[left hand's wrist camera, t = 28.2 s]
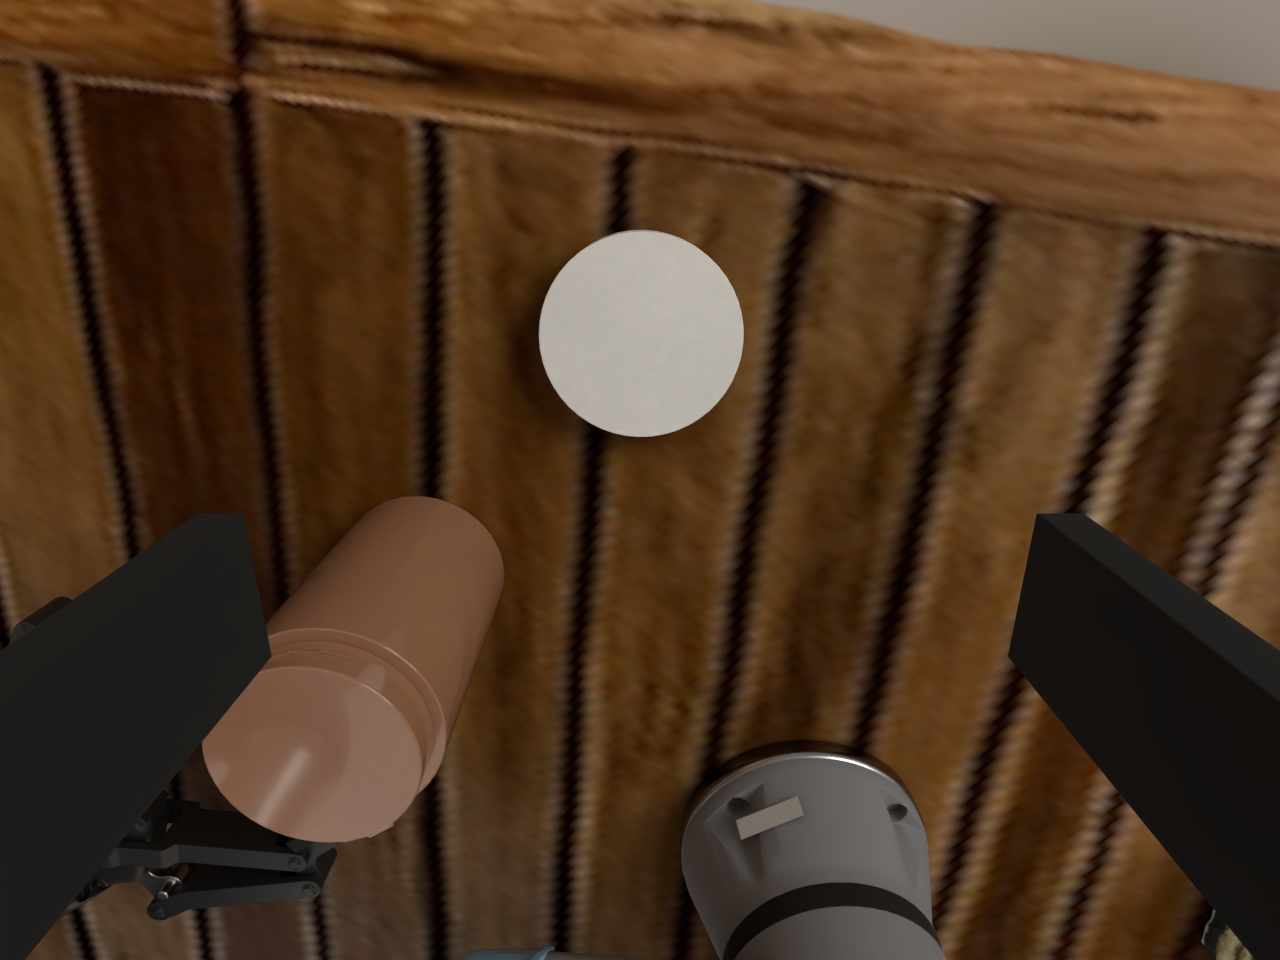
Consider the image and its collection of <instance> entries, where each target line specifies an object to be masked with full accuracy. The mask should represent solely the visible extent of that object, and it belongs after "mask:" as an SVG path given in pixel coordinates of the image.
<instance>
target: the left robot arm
mask: <svg viewBox="0 0 1280 960" xmlns="http://www.w3.org/2000/svg"><path fill="white" fill-rule="evenodd" d="M271 657H272V654H271V649H270V644H269V639H268V634H267V629H266V624H265V619H264V614H263V609H262V604H261V600H260V595H259V590H258V585H257V580H256V575H255V570H254V565H253V560H252V555H251V550H250V545H249V540H248V535H247V530H246V525H245V520H244V515H243V514H196V515H194V516H193V517H191V518H190V519H189V520H187V521H186V522H184V523H183V524H181V525H180V526H179V527H177V528H176V529H174V530H173V531H171V532H170V533H168V534H167V535H166V536H164V537H163V538H161V539H160V540H158V541H157V542H156V543H154V544H153V545H151V546H150V547H148V548H147V549H146V550H144V551H143V552H141V553H140V554H138V555H137V556H136V557H134V558H133V559H131V560H130V561H128V562H127V563H126V564H124V565H123V566H121V567H120V568H118V569H117V570H116V571H114V572H113V573H111V574H110V575H108V576H107V577H105V578H104V579H103V580H101V581H100V582H98V583H97V584H95V585H94V586H93V587H91V588H90V589H88V590H87V591H85V592H84V593H83V594H81V595H80V596H78V597H77V598H75V599H74V600H73V601H71V602H70V603H68V604H67V605H65V606H64V607H63V608H61V609H60V610H58V611H57V612H55V613H54V614H53V615H51V616H50V617H48V618H47V619H45V620H44V621H43V622H41V623H40V624H38V625H37V626H35V627H34V628H32V629H31V630H30V631H28V632H27V633H25V634H24V635H22V636H21V637H20V638H18V639H17V640H15V641H14V642H12V643H11V644H10V645H8V646H7V647H5V648H4V649H2V650H1V651H0V960H25V959H26V958H27V956H28V955H29V954H30V953H31V951H32V950H33V949H34V948H35V947H36V945H37V944H38V943H39V942H40V940H41V939H42V938H43V937H44V936H45V934H46V933H47V932H48V931H49V929H50V928H51V927H52V926H53V924H54V923H55V922H56V921H57V920H58V918H59V917H60V916H61V915H62V913H63V912H64V911H65V910H66V908H67V907H68V906H69V905H70V904H71V902H72V901H73V900H74V899H75V897H76V896H77V895H78V894H79V893H80V891H81V890H82V889H83V888H84V886H85V885H86V884H87V883H88V881H89V880H90V879H91V878H92V877H93V875H94V874H95V873H96V872H97V870H98V869H99V868H100V867H101V866H102V864H103V863H104V862H105V861H106V859H107V858H108V857H109V856H110V854H111V853H112V852H113V851H114V850H115V848H116V847H117V846H118V845H119V843H120V842H121V841H122V840H123V838H124V837H125V836H126V835H127V834H128V832H129V831H130V830H131V829H132V827H133V826H134V825H135V824H136V823H137V821H138V820H139V819H140V818H141V816H142V815H143V814H144V813H145V811H146V810H147V809H148V808H149V807H150V805H151V804H152V803H153V802H154V800H155V799H156V798H157V797H158V795H159V794H160V793H161V792H162V791H163V789H164V788H165V787H166V786H167V784H168V783H169V782H170V781H171V780H172V778H173V777H174V776H175V775H176V773H177V772H178V771H179V770H180V768H181V767H182V766H183V765H184V764H185V762H186V761H187V760H188V759H189V757H190V756H191V755H192V754H193V753H194V751H195V750H196V749H197V748H198V746H199V745H200V744H201V743H202V741H203V740H204V739H205V738H206V737H207V735H208V734H209V733H210V732H211V730H212V729H213V728H214V727H215V725H216V724H217V723H218V722H219V721H220V719H221V718H222V717H223V716H224V714H225V713H226V712H227V711H228V710H229V708H230V707H231V706H232V705H233V703H234V702H235V701H236V700H237V698H238V697H239V696H240V695H241V694H242V692H243V691H244V690H245V689H246V687H247V686H248V685H249V684H250V683H251V681H252V680H253V679H254V678H255V676H256V675H257V674H258V673H259V671H260V670H261V669H262V668H263V667H264V665H265V664H266V663H267V662H268V660H269V659H270V658H271ZM1008 657H1009V658H1010V659H1011V660H1012V662H1013V663H1014V664H1015V665H1016V667H1017V668H1018V669H1019V670H1020V671H1021V673H1022V674H1023V675H1024V676H1025V678H1026V679H1027V680H1028V681H1029V683H1030V684H1031V685H1032V686H1033V687H1034V689H1035V690H1036V691H1037V692H1038V694H1039V695H1040V696H1041V697H1042V698H1043V700H1044V701H1045V702H1046V703H1047V705H1048V706H1049V707H1050V708H1051V710H1052V711H1053V712H1054V713H1055V714H1056V716H1057V717H1058V718H1059V719H1060V721H1061V722H1062V723H1063V724H1064V725H1065V727H1066V728H1067V729H1068V730H1069V732H1070V733H1071V734H1072V735H1073V737H1074V738H1075V739H1076V740H1077V741H1078V743H1079V744H1080V745H1081V746H1082V748H1083V749H1084V750H1085V751H1086V753H1087V754H1088V755H1089V756H1090V757H1091V759H1092V760H1093V761H1094V762H1095V764H1096V765H1097V766H1098V767H1099V768H1100V770H1101V771H1102V772H1103V773H1104V775H1105V776H1106V777H1107V778H1108V780H1109V781H1110V782H1111V783H1112V784H1113V786H1114V787H1115V788H1116V789H1117V791H1118V792H1119V793H1120V794H1121V795H1122V797H1123V798H1124V799H1125V800H1126V802H1127V803H1128V804H1129V805H1130V807H1131V808H1132V809H1133V810H1134V811H1135V813H1136V814H1137V815H1138V816H1139V818H1140V819H1141V820H1142V821H1143V823H1144V824H1145V825H1146V826H1147V827H1148V829H1149V830H1150V831H1151V832H1152V834H1153V835H1154V836H1155V837H1156V838H1157V840H1158V841H1159V842H1160V843H1161V845H1162V846H1163V847H1164V848H1165V850H1166V851H1167V852H1168V853H1169V854H1170V856H1171V857H1172V858H1173V859H1174V861H1175V862H1176V863H1177V864H1178V866H1179V867H1180V868H1181V869H1182V870H1183V872H1184V873H1185V874H1186V875H1187V877H1188V878H1189V879H1190V880H1191V881H1192V883H1193V884H1194V885H1195V886H1196V888H1197V889H1198V890H1199V891H1200V893H1201V894H1202V895H1203V896H1204V897H1205V899H1206V900H1207V901H1208V902H1209V904H1210V905H1211V906H1212V907H1213V908H1214V910H1215V911H1216V912H1217V913H1218V915H1219V916H1220V917H1221V918H1222V920H1223V921H1224V922H1225V923H1226V924H1227V926H1228V927H1229V928H1230V929H1231V931H1232V932H1233V933H1234V934H1235V936H1236V937H1237V938H1238V939H1239V940H1240V942H1241V943H1242V944H1243V945H1244V947H1245V948H1246V949H1247V950H1248V951H1249V953H1250V954H1251V955H1252V956H1253V958H1254V959H1255V960H1280V651H1279V650H1278V649H1276V648H1275V647H1273V646H1272V645H1270V644H1269V643H1268V642H1266V641H1265V640H1263V639H1262V638H1260V637H1259V636H1258V635H1256V634H1255V633H1253V632H1252V631H1250V630H1249V629H1248V628H1246V627H1245V626H1243V625H1242V624H1240V623H1239V622H1237V621H1236V620H1235V619H1233V618H1232V617H1230V616H1229V615H1227V614H1226V613H1225V612H1223V611H1222V610H1220V609H1219V608H1217V607H1216V606H1215V605H1213V604H1212V603H1210V602H1209V601H1207V600H1206V599H1205V598H1203V597H1202V596H1200V595H1199V594H1197V593H1196V592H1195V591H1193V590H1192V589H1190V588H1189V587H1187V586H1186V585H1185V584H1183V583H1182V582H1180V581H1179V580H1177V579H1176V578H1175V577H1173V576H1172V575H1170V574H1169V573H1167V572H1166V571H1164V570H1163V569H1162V568H1160V567H1159V566H1157V565H1156V564H1154V563H1153V562H1152V561H1150V560H1149V559H1147V558H1146V557H1144V556H1143V555H1142V554H1140V553H1139V552H1137V551H1136V550H1134V549H1133V548H1132V547H1130V546H1129V545H1127V544H1126V543H1124V542H1123V541H1122V540H1120V539H1119V538H1117V537H1116V536H1114V535H1113V534H1112V533H1110V532H1109V531H1107V530H1106V529H1104V528H1103V527H1101V526H1100V525H1099V524H1097V523H1096V522H1094V521H1093V520H1091V519H1090V518H1089V517H1087V516H1086V515H1084V514H1037V515H1036V520H1035V525H1034V530H1033V535H1032V540H1031V545H1030V550H1029V555H1028V560H1027V565H1026V570H1025V575H1024V580H1023V585H1022V590H1021V595H1020V600H1019V604H1018V609H1017V614H1016V619H1015V624H1014V629H1013V634H1012V639H1011V644H1010V649H1009V654H1008ZM680 846H681V861H682V870H683V874H684V878H685V881H686V884H687V888H688V891H689V894H690V896H691V898H692V900H693V902H694V905H695V907H696V909H697V911H698V913H699V915H700V918H701V920H702V922H703V924H704V926H705V929H706V931H707V933H708V935H709V937H710V939H711V942H712V944H713V946H714V948H715V950H716V952H717V955H718V957H719V959H720V960H947V959H946V957H945V955H944V952H943V950H942V948H941V945H940V943H939V940H938V938H937V935H936V932H935V930H934V927H933V925H932V912H931V892H930V873H929V853H928V842H927V837H926V833H925V828H924V823H923V821H922V818H921V815H920V813H919V811H918V808H917V806H916V804H915V802H914V800H913V798H912V796H911V794H910V792H909V790H908V788H907V787H906V785H905V784H904V782H903V781H902V780H901V779H900V777H899V776H898V775H897V774H896V773H895V772H894V771H893V770H892V769H890V768H889V767H888V766H887V765H885V764H884V763H883V762H881V761H880V760H878V759H876V758H875V757H873V756H871V755H869V754H867V753H865V752H863V751H861V750H858V749H855V748H852V747H849V746H845V745H841V744H837V743H831V742H823V741H794V742H785V743H779V744H774V745H770V746H766V747H763V748H760V749H757V750H754V751H751V752H749V753H747V754H744V755H742V756H740V757H738V758H736V759H734V760H733V761H731V762H729V763H728V764H726V765H725V766H723V767H722V768H720V769H719V770H718V771H717V772H715V773H714V774H713V775H712V776H711V777H710V778H709V779H707V780H706V781H705V783H704V784H703V785H702V786H701V787H700V788H699V789H698V791H697V792H696V794H695V795H694V797H693V798H692V800H691V802H690V803H689V805H688V807H687V810H686V812H685V815H684V818H683V822H682V826H681V833H680ZM457 960H663V959H645V958H632V957H619V956H606V955H594V954H581V953H568V952H556V951H555V949H554V946H548V945H545V946H542V947H540V948H539V949H538V950H476V951H473V952H470V953H467V954H465V955H463V956H462V957H460V958H459V959H457Z"/></svg>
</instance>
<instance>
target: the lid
mask: <svg viewBox="0 0 1280 960" xmlns="http://www.w3.org/2000/svg"><path fill="white" fill-rule="evenodd" d="M539 345H540V352H541V357H542V362H543V365H544V368H545V370H546V373H547V376H548V378H549V380H550V382H551V384H552V385H553V387H554V389H555V390H556V392H557V393H558V395H559V396H560V398H561V399H562V400H563V401H564V402H565V403H566V404H567V405H568V407H569V408H571V409H572V410H573V411H574V412H575V413H576V414H577V415H579V416H580V417H581V418H583V419H584V420H586V421H587V422H589V423H591V424H593V425H595V426H597V427H599V428H601V429H603V430H606V431H609V432H612V433H615V434H620V435H624V436H634V437H650V436H657V435H663V434H667V433H670V432H674V431H677V430H679V429H681V428H684V427H686V426H688V425H690V424H691V423H693V422H695V421H696V420H698V419H700V418H701V417H702V416H703V415H705V414H706V413H707V412H709V411H710V410H711V409H712V408H713V407H714V406H715V405H716V404H717V403H718V402H719V400H720V399H721V398H722V396H723V395H724V394H725V392H726V391H727V389H728V387H729V386H730V384H731V382H732V381H733V378H734V376H735V374H736V371H737V369H738V366H739V362H740V359H741V355H742V348H743V320H742V313H741V310H740V306H739V302H738V299H737V297H736V294H735V292H734V289H733V288H732V286H731V284H730V282H729V280H728V279H727V277H726V276H725V274H724V273H723V272H722V270H721V269H720V268H719V267H718V265H717V264H716V263H715V262H714V261H713V260H712V259H711V258H710V257H709V256H707V255H706V254H705V253H703V252H702V251H701V250H699V249H698V248H697V247H695V246H694V245H692V244H691V243H689V242H687V241H685V240H683V239H681V238H679V237H676V236H674V235H671V234H667V233H663V232H659V231H651V230H630V231H624V232H618V233H615V234H612V235H609V236H606V237H603V238H601V239H599V240H597V241H595V242H593V243H592V244H590V245H589V246H587V247H586V248H584V249H583V250H581V251H580V252H579V253H578V254H576V255H575V256H574V257H573V258H572V259H571V260H570V261H569V262H568V263H567V264H566V265H565V266H564V267H563V268H562V270H561V271H560V272H559V273H558V275H557V277H556V278H555V280H554V281H553V283H552V284H551V287H550V289H549V291H548V293H547V295H546V297H545V301H544V304H543V307H542V311H541V316H540V322H539Z"/></svg>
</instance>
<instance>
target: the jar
mask: <svg viewBox="0 0 1280 960" xmlns="http://www.w3.org/2000/svg"><path fill="white" fill-rule="evenodd" d="M503 585H504V566H503V560H502V557H501V554H500V551H499V549H498V546H497V544H496V542H495V541H494V539H493V537H492V536H491V534H490V533H489V532H488V530H487V529H486V528H485V527H484V526H483V525H482V524H481V523H480V522H479V521H478V520H477V519H476V518H475V517H473V516H472V515H471V514H469V513H468V512H467V511H465V510H463V509H461V508H460V507H458V506H456V505H454V504H451V503H449V502H446V501H443V500H440V499H436V498H430V497H421V496H409V497H400V498H395V499H392V500H389V501H386V502H383V503H381V504H379V505H377V506H375V507H373V508H372V509H370V510H369V511H367V512H366V513H365V514H364V515H363V516H362V517H360V518H359V519H358V520H357V522H356V523H355V524H354V525H353V526H352V527H351V528H350V529H349V531H348V532H347V533H346V534H345V535H344V536H343V537H342V538H341V540H340V541H339V542H338V543H337V544H336V545H335V546H334V547H333V548H332V550H331V551H330V552H329V553H328V554H327V555H326V556H325V557H324V559H323V560H322V561H321V562H320V563H319V564H318V565H317V566H316V568H315V569H314V570H313V571H312V572H311V573H310V574H309V575H308V576H307V578H306V579H305V580H304V581H303V582H302V583H301V584H300V585H299V587H298V588H297V589H296V590H295V591H294V592H293V593H292V594H291V596H290V597H289V598H288V599H287V600H286V601H285V602H284V603H283V604H282V606H281V607H280V608H279V609H278V610H277V611H276V612H275V613H274V615H273V616H272V617H271V618H270V619H269V620H268V621H267V622H266V629H267V634H268V639H269V644H270V649H271V654H272V657H271V658H270V659H269V660H268V662H267V663H266V664H265V665H264V667H263V668H262V669H261V670H260V671H259V673H258V674H257V675H256V676H255V678H254V679H253V680H252V681H251V683H250V684H249V685H248V686H247V687H246V689H245V690H244V691H243V692H242V694H241V695H240V696H239V697H238V698H237V700H236V701H235V702H234V703H233V705H232V706H231V707H230V708H229V710H228V711H227V712H226V713H225V714H224V716H223V717H222V718H221V719H220V721H219V722H218V723H217V724H216V725H215V727H214V728H213V729H212V730H211V732H210V733H209V734H208V735H207V737H206V738H205V739H204V740H203V741H202V750H203V755H204V760H205V763H206V766H207V769H208V772H209V774H210V776H211V778H212V780H213V782H214V783H215V785H216V786H217V788H218V789H219V791H220V792H221V793H222V794H223V796H224V797H225V798H226V799H227V800H228V801H229V802H230V803H231V804H232V805H233V806H234V807H235V808H236V809H237V810H239V811H240V812H241V813H242V814H244V815H245V816H247V817H248V818H249V819H251V820H252V821H254V822H256V823H258V824H259V825H261V826H263V827H265V828H267V829H269V830H272V831H274V832H276V833H279V834H282V835H285V836H288V837H292V838H296V839H300V840H306V841H312V842H328V843H330V842H348V841H352V840H356V839H360V838H364V837H369V838H371V837H372V836H374V835H376V834H378V833H380V832H382V831H384V830H386V829H388V828H390V827H392V826H393V825H394V822H395V821H396V820H397V819H399V818H400V817H401V816H402V815H403V814H404V812H405V811H406V810H407V809H408V808H409V806H410V805H411V804H412V802H413V801H414V799H415V797H416V795H417V794H418V793H420V792H421V791H422V790H423V789H424V788H425V787H426V786H427V785H428V784H429V783H430V781H431V780H432V779H433V777H434V776H435V774H436V773H437V771H438V769H439V767H440V765H441V763H442V761H443V758H444V755H445V752H446V749H447V746H448V744H449V741H450V738H451V735H452V732H453V730H454V727H455V724H456V721H457V718H458V715H459V713H460V710H461V707H462V704H463V701H464V699H465V696H466V693H467V690H468V687H469V684H470V682H471V679H472V676H473V673H474V670H475V668H476V665H477V662H478V659H479V656H480V654H481V651H482V648H483V645H484V642H485V639H486V637H487V634H488V631H489V628H490V625H491V623H492V620H493V617H494V614H495V611H496V608H497V606H498V603H499V600H500V597H501V594H502V590H503Z"/></svg>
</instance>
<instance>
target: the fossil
mask: <svg viewBox="0 0 1280 960" xmlns="http://www.w3.org/2000/svg"><path fill="white" fill-rule="evenodd" d="M1201 942H1202V943H1203V944H1204V945H1205V946H1206V948H1207V950H1208V953H1209V955H1210V958H1211V960H1255V959H1254V958H1253V956H1252V955H1251V954H1250V953H1249V951H1248V950H1247V949H1246V948H1245V947H1244V945H1243V944H1242V943H1241V942H1240V940H1239V939H1238V938H1237V937H1236V936H1235V934H1234V933H1233V932H1232V931H1231V929H1230V928H1229V927H1228V926H1227V924H1226V923H1225V922H1224V921H1223V920H1222V918H1221V917H1220V916H1219V915H1218V913H1217V912H1216V911H1215V910H1214V909H1213V912H1212V916H1211V919H1210V920H1209V921H1208V923H1207V924H1206V926H1205V930H1204V933H1203V937H1202V941H1201Z"/></svg>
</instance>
